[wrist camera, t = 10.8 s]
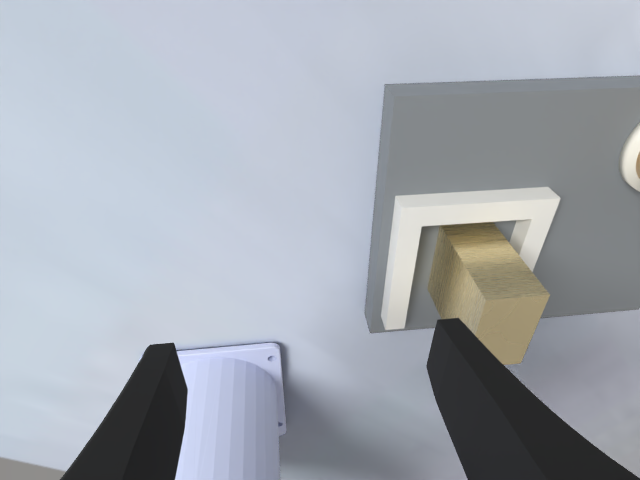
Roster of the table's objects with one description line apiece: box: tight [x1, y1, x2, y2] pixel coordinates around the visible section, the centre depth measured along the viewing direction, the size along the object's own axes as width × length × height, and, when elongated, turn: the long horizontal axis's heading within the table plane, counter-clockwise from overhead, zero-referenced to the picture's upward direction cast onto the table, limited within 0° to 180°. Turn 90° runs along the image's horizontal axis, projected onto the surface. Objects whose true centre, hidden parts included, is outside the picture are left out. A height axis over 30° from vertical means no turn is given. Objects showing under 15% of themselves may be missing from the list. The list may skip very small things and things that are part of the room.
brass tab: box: [427, 222, 550, 365], centre depth 19 cm, size 4×2×5 cm, turn 0°
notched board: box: [365, 76, 640, 333], centre depth 21 cm, size 13×16×2 cm
